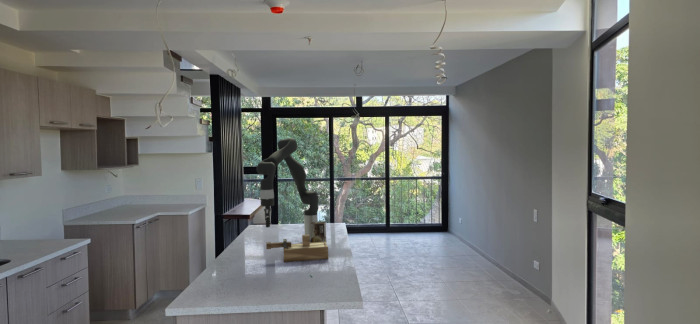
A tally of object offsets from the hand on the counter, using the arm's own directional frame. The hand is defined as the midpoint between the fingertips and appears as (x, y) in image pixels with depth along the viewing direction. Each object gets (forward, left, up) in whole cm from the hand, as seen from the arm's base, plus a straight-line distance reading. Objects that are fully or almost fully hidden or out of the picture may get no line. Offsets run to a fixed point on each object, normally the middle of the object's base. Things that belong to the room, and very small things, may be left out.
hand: (268, 225), depth 220 cm
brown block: (0, +6, -13) cm, 14 cm away
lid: (0, +21, -14) cm, 25 cm away
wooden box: (0, +21, -20) cm, 29 cm away
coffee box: (-19, +30, -20) cm, 41 cm away
